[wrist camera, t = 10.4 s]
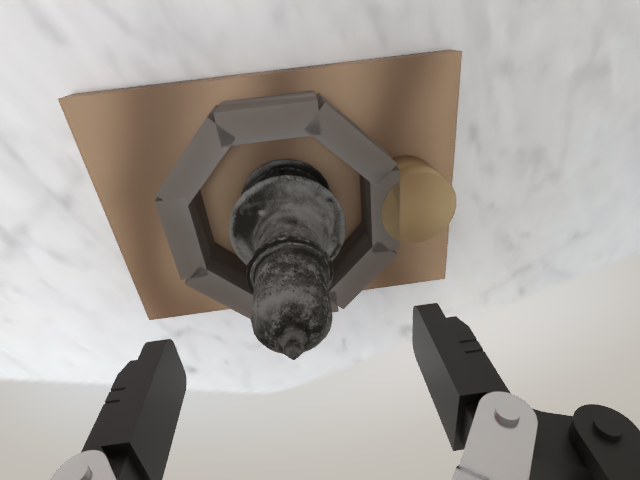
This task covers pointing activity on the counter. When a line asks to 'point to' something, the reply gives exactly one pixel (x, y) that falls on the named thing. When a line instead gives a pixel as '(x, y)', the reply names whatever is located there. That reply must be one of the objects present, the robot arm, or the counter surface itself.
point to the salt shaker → (288, 252)
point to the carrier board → (265, 146)
